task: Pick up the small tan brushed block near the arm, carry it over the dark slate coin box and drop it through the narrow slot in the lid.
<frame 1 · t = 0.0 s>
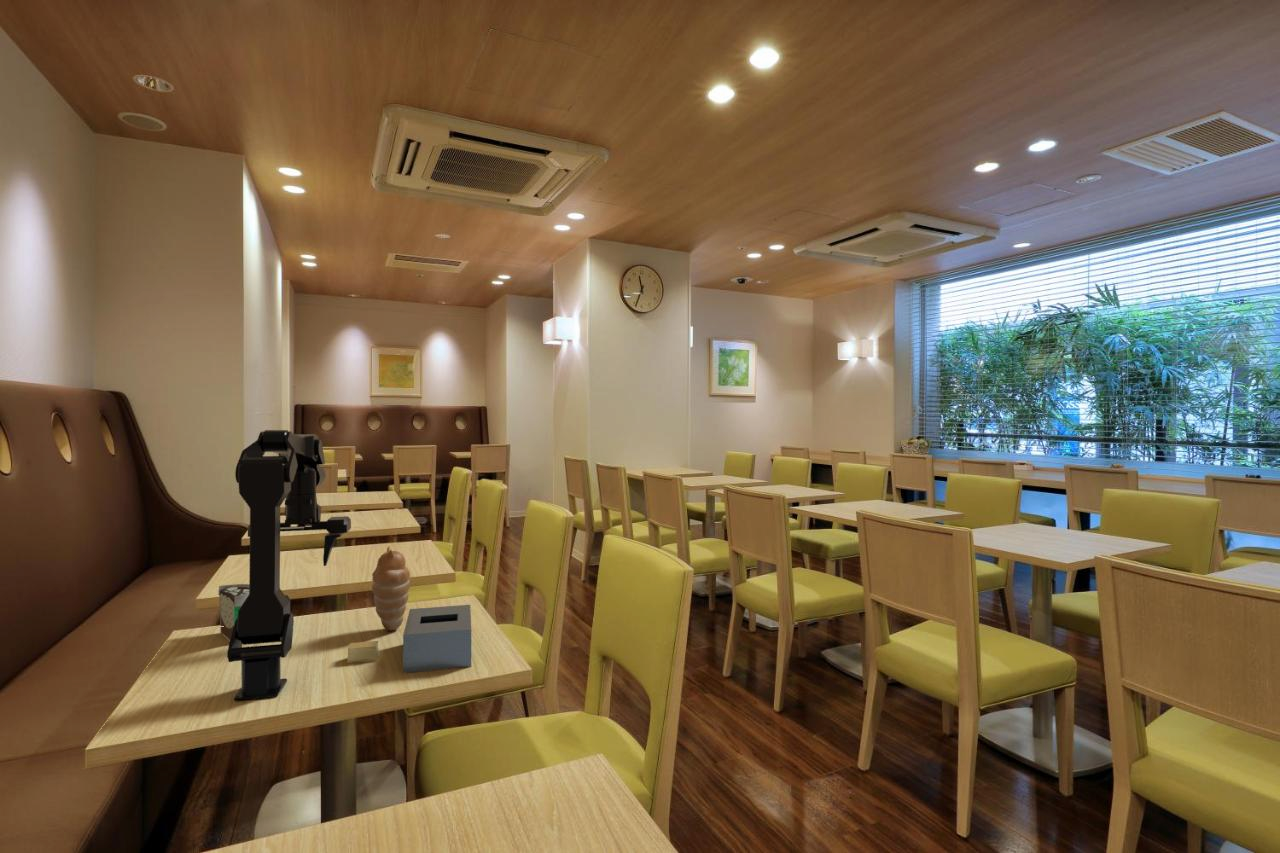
hand: (301, 566, 135), 15 cm above the table, tool pointing down, fingers open, 9 cm apart
coin box: (439, 653, 126), on the table
tan ribbed tall piece: (391, 631, 139), on the table
food container: (243, 635, 136), on the table
tan brushed block: (363, 660, 123), on the table
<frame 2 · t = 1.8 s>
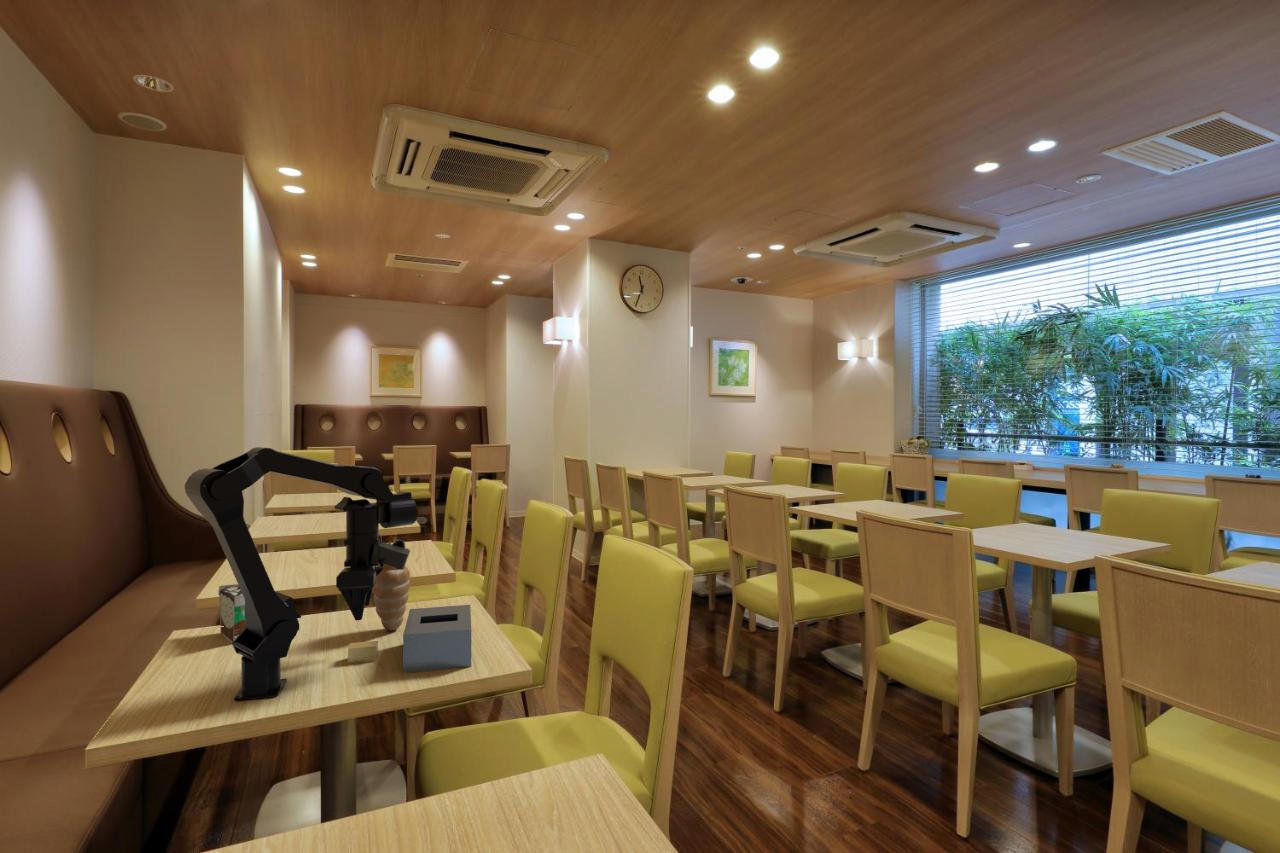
hand: (362, 612, 123), 9 cm above the table, tool pointing down, fingers open, 9 cm apart
nothing on the table moved.
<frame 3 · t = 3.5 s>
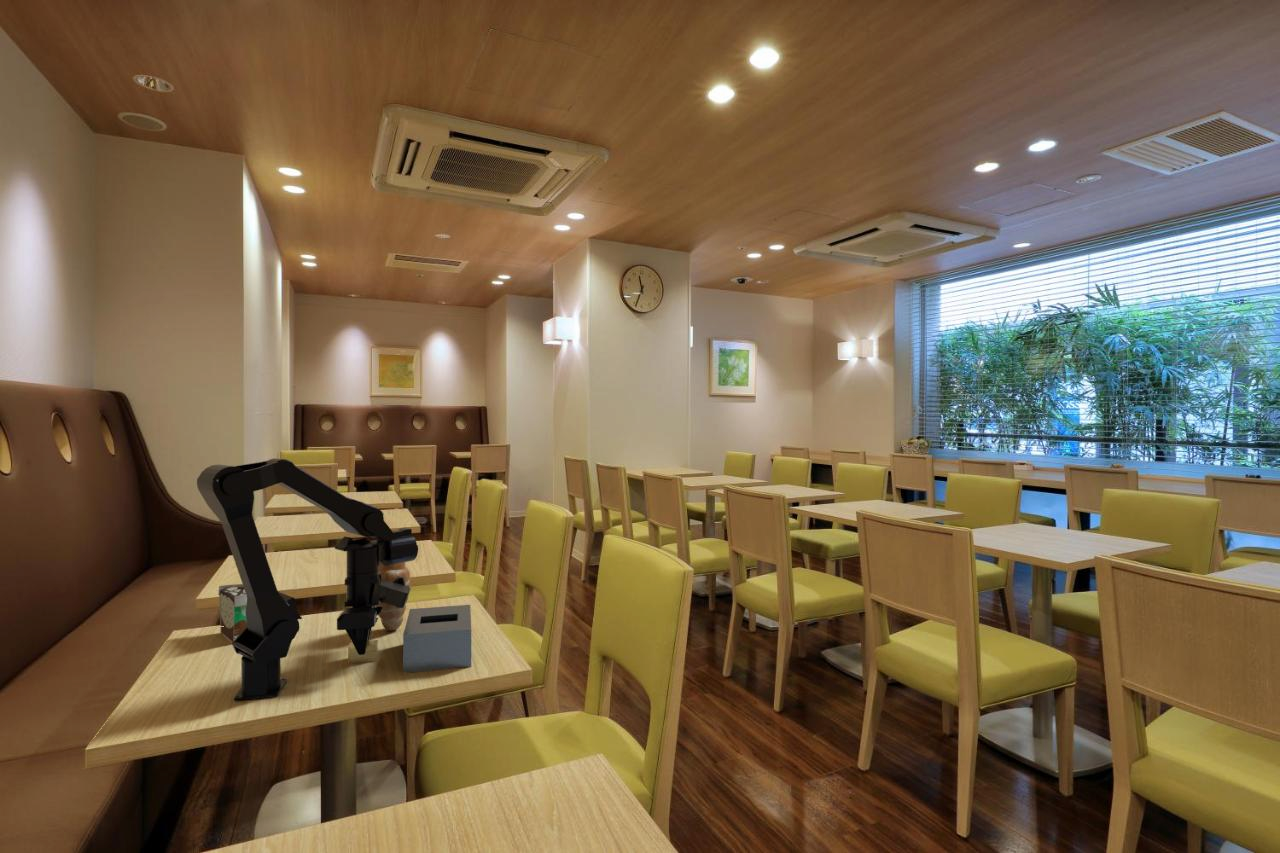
hand: (363, 651, 123), 2 cm above the table, tool pointing down, fingers closed on tan brushed block, 3 cm apart
tan brushed block: (363, 659, 123), on the table, touching gripper
everything else where it was.
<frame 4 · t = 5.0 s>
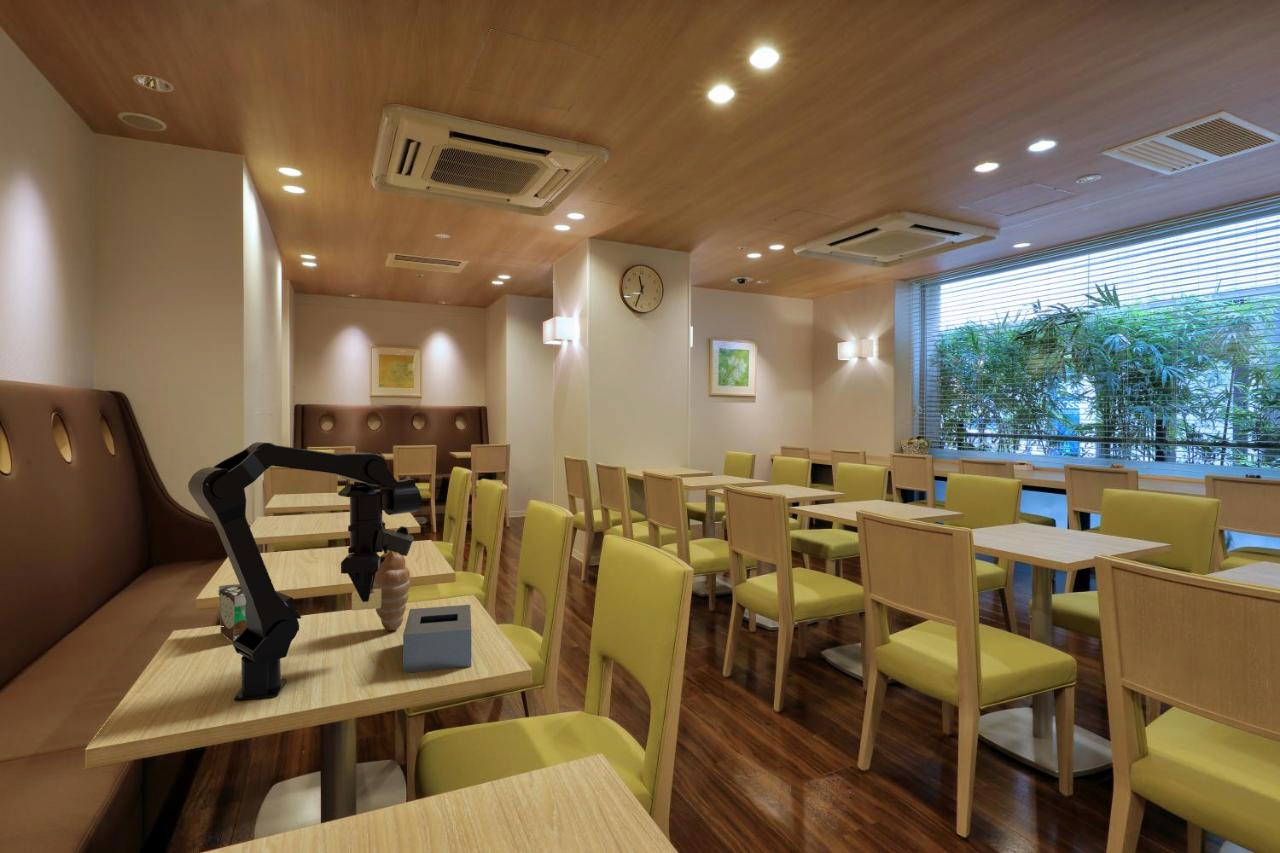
hand: (366, 599, 123), 12 cm above the table, tool pointing down, fingers closed on tan brushed block, 3 cm apart
tan brushed block: (366, 607, 123), point 10 cm above the table, touching gripper
everything else where it was.
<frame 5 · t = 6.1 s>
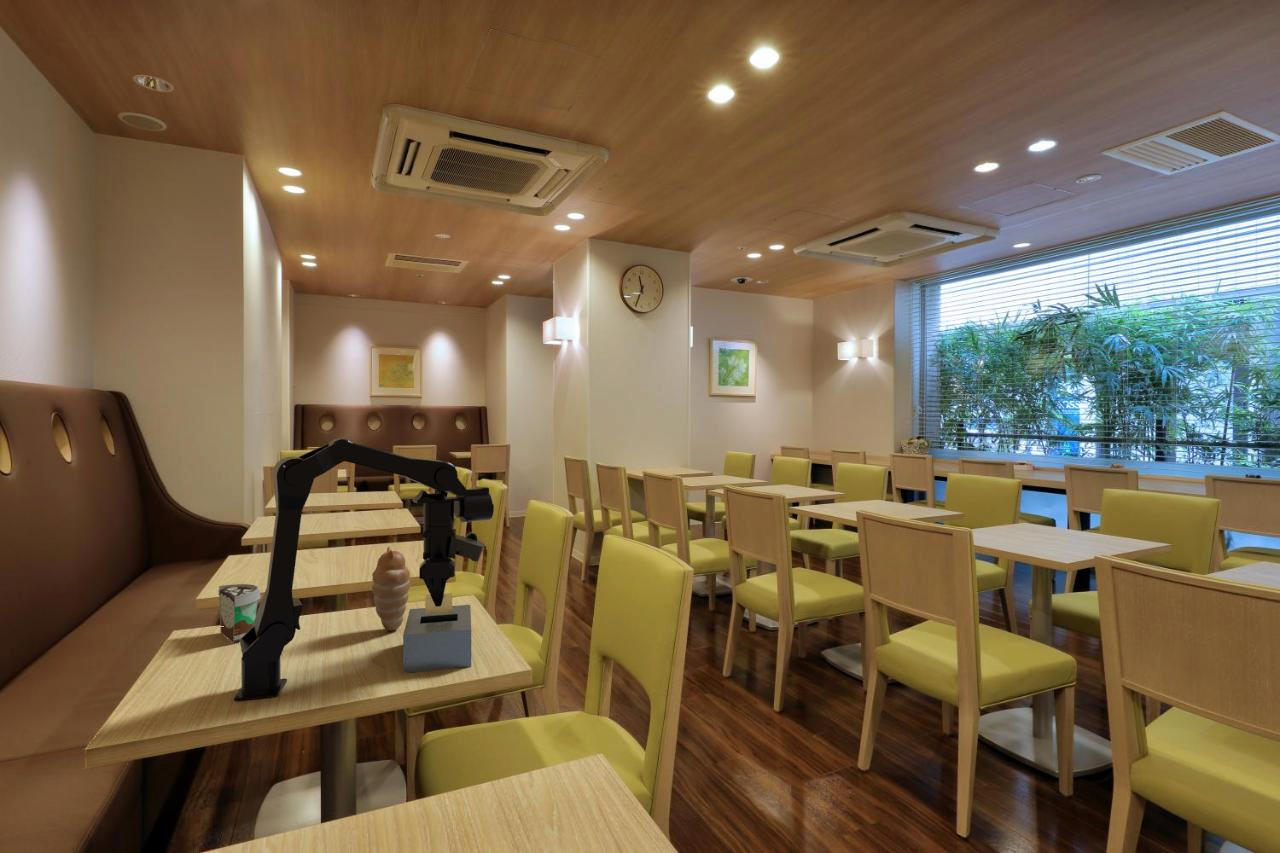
hand: (438, 603, 125), 10 cm above the table, tool pointing down, fingers closed on tan brushed block, 3 cm apart
tan brushed block: (438, 611, 125), point 8 cm above the table, touching gripper
everything else where it was.
when the fingers open (9 cm above the table, at t = 6.7 s): tan brushed block drops 7 cm, resting on coin box.
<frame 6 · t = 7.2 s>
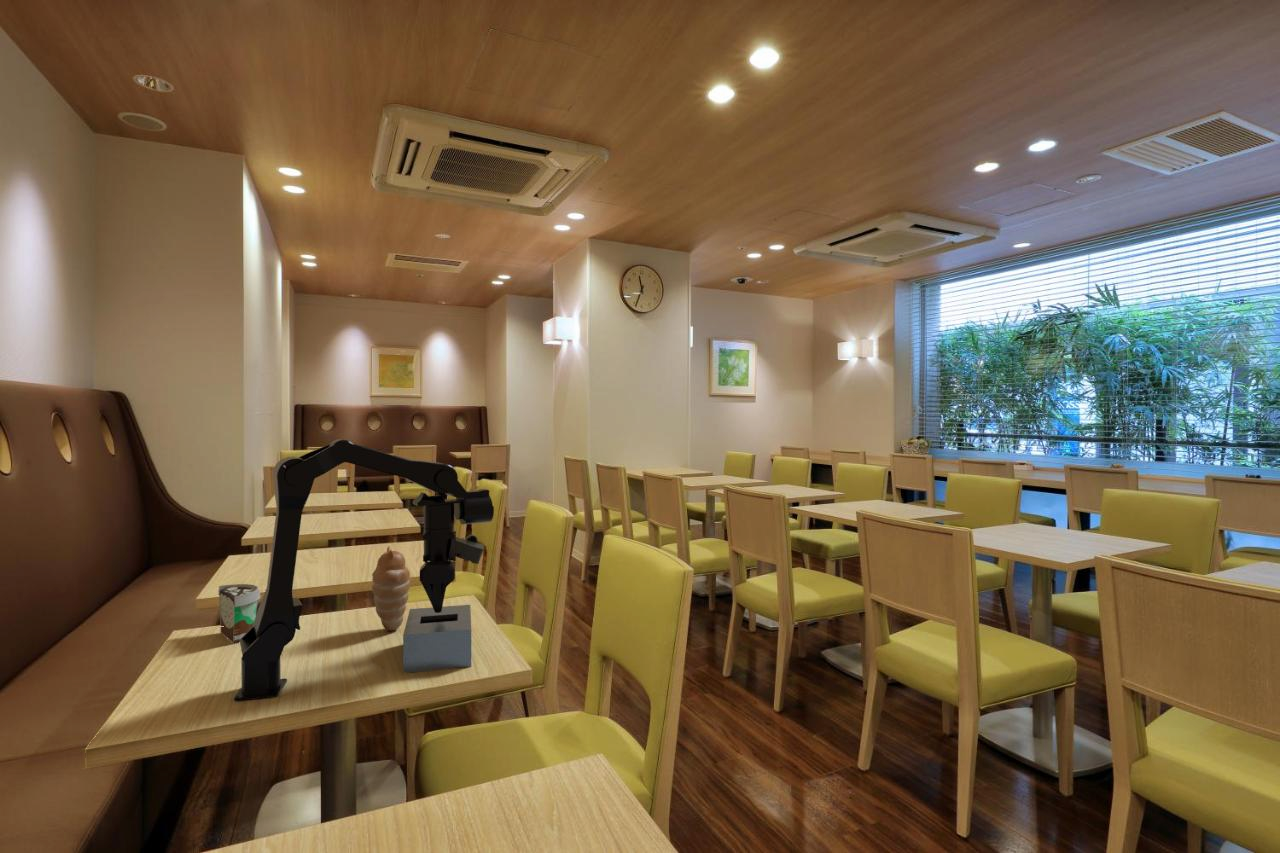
hand: (439, 606, 125), 9 cm above the table, tool pointing down, fingers open, 8 cm apart
tan brushed block: (439, 649, 126), point 1 cm above the table, touching coin box
everything else where it was.
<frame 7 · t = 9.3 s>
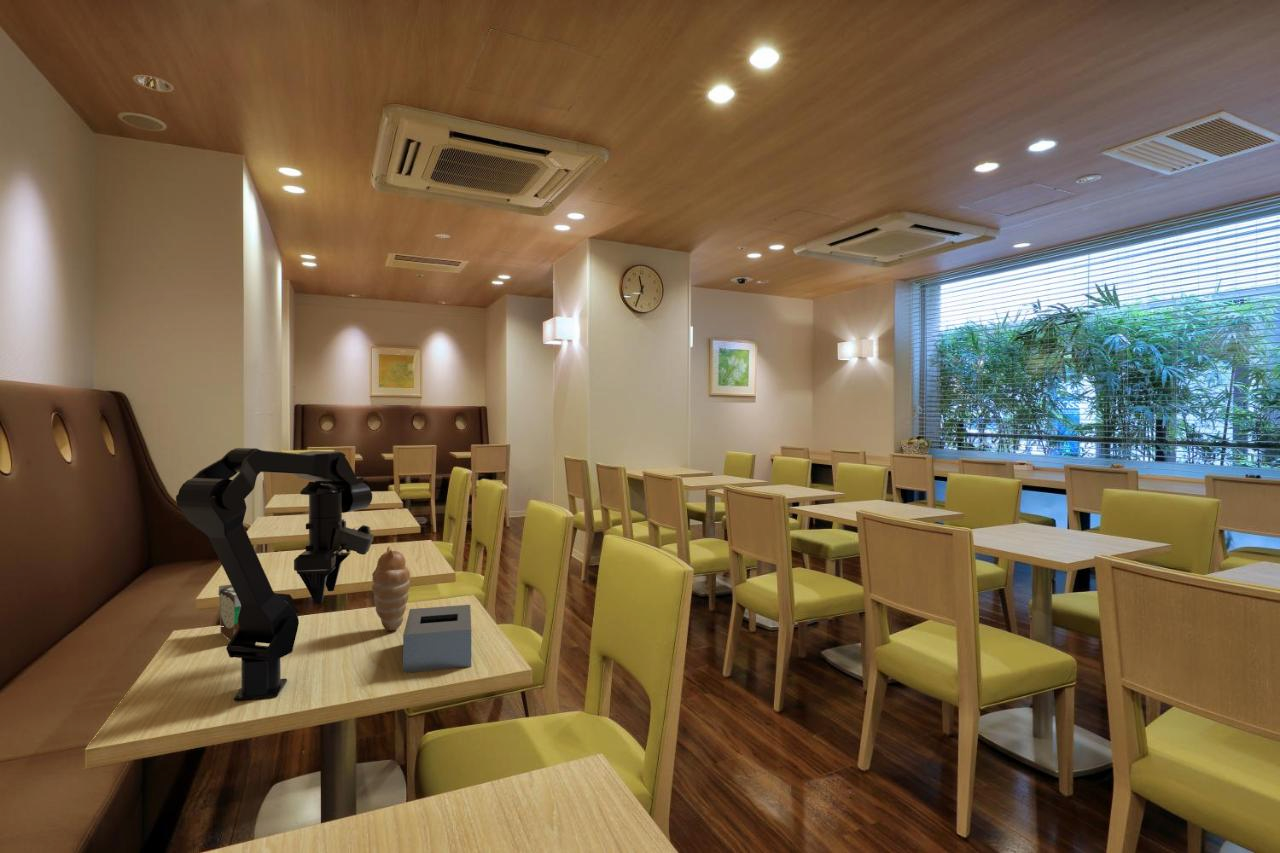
hand: (325, 597, 123), 12 cm above the table, tool pointing down, fingers open, 9 cm apart
nothing on the table moved.
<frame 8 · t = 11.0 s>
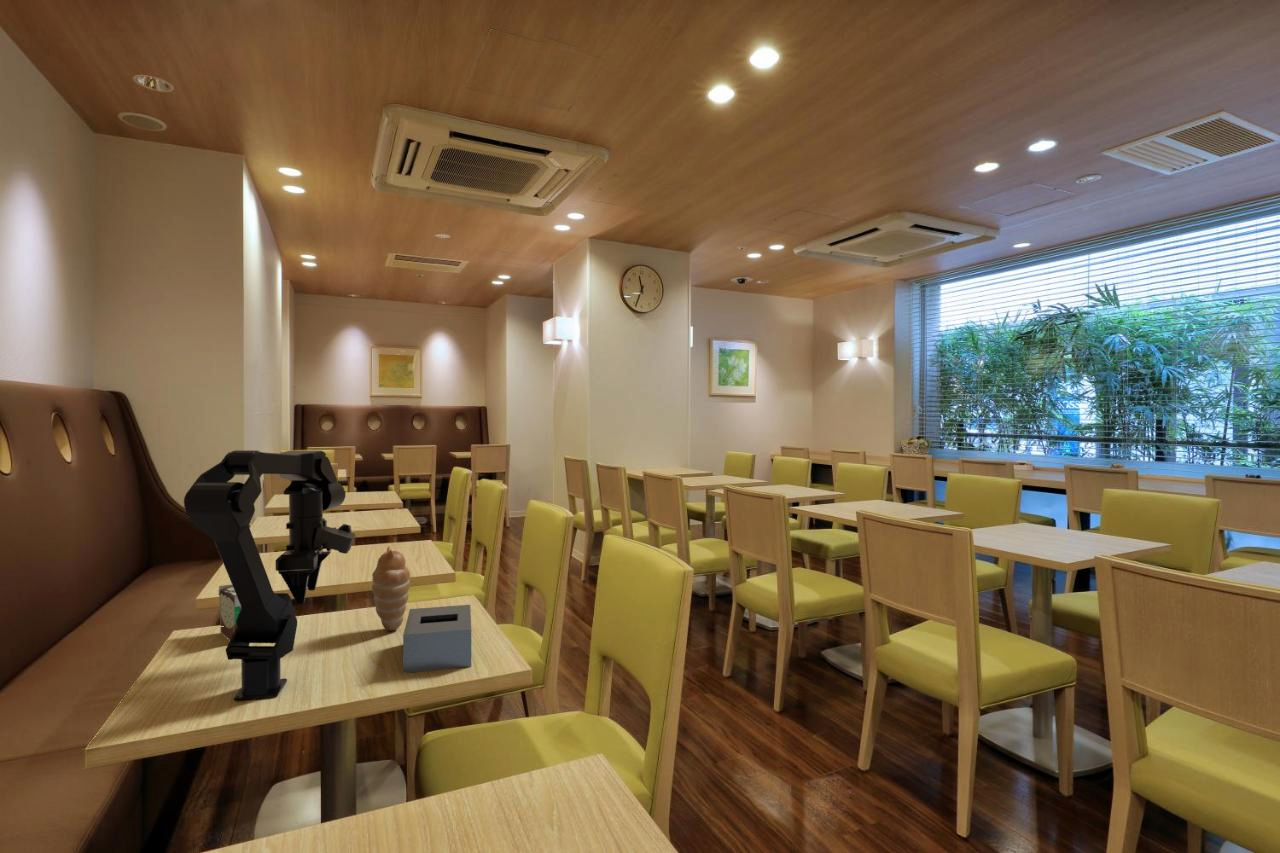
hand: (306, 596, 123), 12 cm above the table, tool pointing down, fingers open, 9 cm apart
nothing on the table moved.
at the end: tan brushed block inside the target area on the coin box (0.0 cm from its centre), point 0.8 cm above the coin box's base; the gripper is holding nothing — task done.
